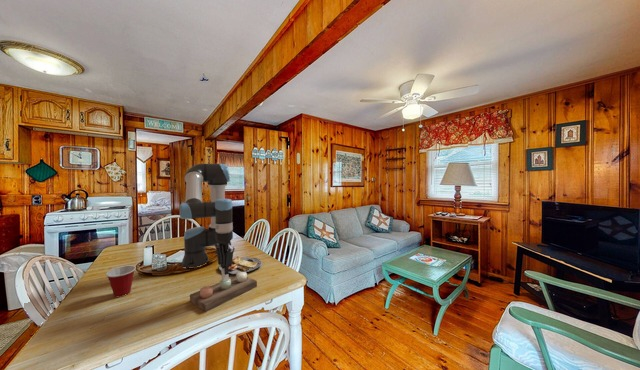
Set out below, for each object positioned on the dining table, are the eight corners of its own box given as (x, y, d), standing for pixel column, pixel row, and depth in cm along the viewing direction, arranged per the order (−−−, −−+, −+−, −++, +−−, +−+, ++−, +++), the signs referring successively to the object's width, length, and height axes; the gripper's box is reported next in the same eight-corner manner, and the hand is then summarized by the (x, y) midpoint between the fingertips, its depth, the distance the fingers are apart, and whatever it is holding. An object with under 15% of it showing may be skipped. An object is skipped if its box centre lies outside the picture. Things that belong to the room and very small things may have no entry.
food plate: (210, 270, 133) (210, 264, 133) (240, 258, 153) (241, 252, 153) (240, 280, 121) (240, 274, 121) (268, 265, 142) (269, 260, 142)
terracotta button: (198, 295, 98) (198, 289, 98) (209, 291, 102) (209, 284, 102) (203, 299, 95) (203, 292, 95) (215, 294, 100) (214, 287, 99)
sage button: (217, 287, 106) (217, 281, 106) (227, 283, 110) (227, 277, 110) (223, 290, 103) (223, 284, 103) (233, 286, 107) (233, 280, 107)
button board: (190, 301, 100) (189, 294, 100) (240, 279, 121) (240, 273, 121) (205, 312, 92) (205, 305, 92) (256, 286, 113) (256, 280, 113)
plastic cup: (102, 303, 99) (101, 276, 98) (111, 291, 108) (110, 267, 108) (133, 296, 104) (132, 271, 103) (139, 286, 113) (138, 263, 113)
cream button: (234, 280, 113) (234, 274, 113) (242, 276, 117) (242, 271, 117) (240, 283, 110) (240, 277, 110) (248, 279, 114) (248, 273, 114)
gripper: (209, 231, 106) (210, 279, 107) (224, 235, 98) (225, 287, 99) (223, 228, 112) (224, 274, 113) (239, 231, 105) (240, 280, 105)
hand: (225, 280), depth 106 cm, fingers closed
